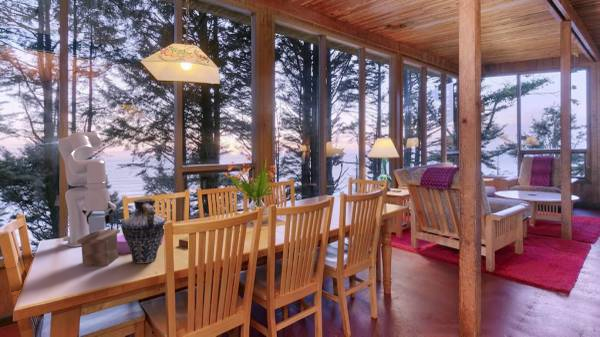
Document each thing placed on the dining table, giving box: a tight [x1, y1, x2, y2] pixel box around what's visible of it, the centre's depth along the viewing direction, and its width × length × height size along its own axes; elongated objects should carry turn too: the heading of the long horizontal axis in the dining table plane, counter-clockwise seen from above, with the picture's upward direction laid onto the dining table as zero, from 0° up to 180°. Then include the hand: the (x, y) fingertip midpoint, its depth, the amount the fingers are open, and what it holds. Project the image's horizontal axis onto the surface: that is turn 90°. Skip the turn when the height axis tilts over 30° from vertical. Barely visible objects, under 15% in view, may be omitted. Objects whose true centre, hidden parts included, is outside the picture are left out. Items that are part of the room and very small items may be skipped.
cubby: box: [77, 229, 121, 268], centre depth 160 cm, size 11×17×13 cm, turn 5°
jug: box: [121, 197, 167, 264], centre depth 161 cm, size 21×19×30 cm
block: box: [88, 211, 108, 232], centre depth 159 cm, size 18×6×6 cm, turn 25°
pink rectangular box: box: [117, 234, 165, 254], centre depth 183 cm, size 25×15×13 cm, turn 129°
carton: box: [178, 236, 189, 249], centre depth 190 cm, size 8×16×4 cm, turn 148°
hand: (99, 223), depth 159 cm, fingers closed on block, 7 cm apart
